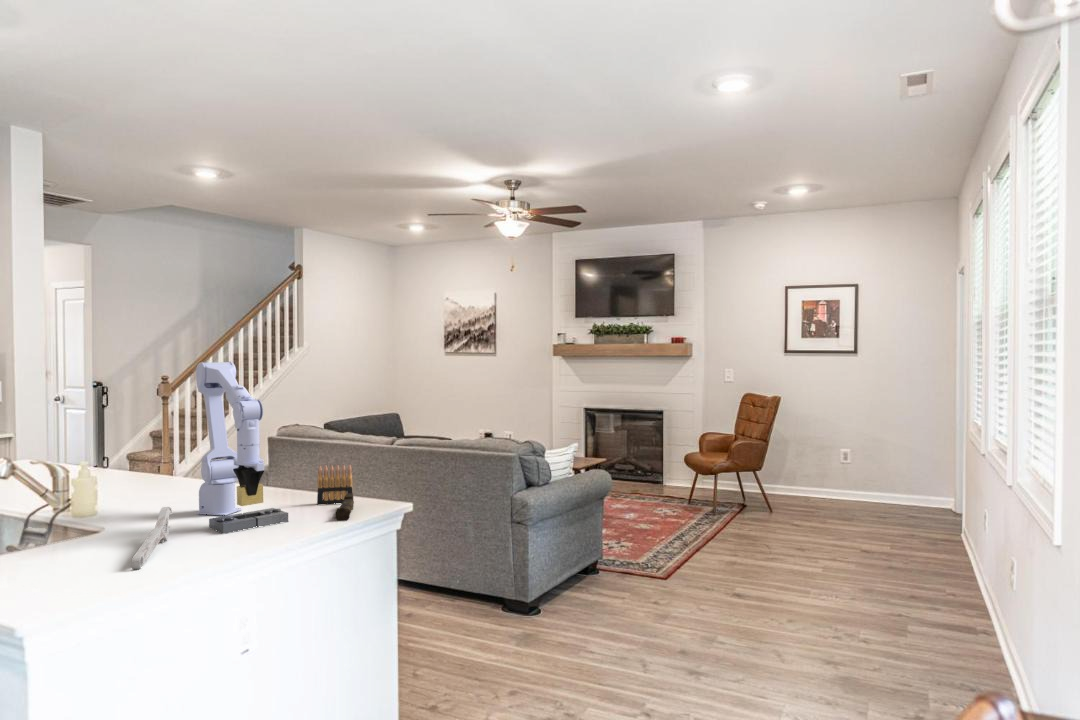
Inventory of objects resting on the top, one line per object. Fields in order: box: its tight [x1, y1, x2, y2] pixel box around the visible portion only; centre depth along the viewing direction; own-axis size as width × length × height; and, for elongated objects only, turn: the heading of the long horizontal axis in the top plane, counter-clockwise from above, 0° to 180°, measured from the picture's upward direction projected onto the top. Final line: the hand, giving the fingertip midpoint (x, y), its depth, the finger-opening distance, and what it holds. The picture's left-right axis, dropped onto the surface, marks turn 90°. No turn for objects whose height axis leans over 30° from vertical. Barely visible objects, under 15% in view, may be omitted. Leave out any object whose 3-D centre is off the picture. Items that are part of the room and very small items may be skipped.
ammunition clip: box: [316, 463, 354, 505], centre depth 232 cm, size 11×2×12 cm, turn 102°
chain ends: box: [208, 507, 289, 534], centre depth 205 cm, size 18×9×3 cm, turn 136°
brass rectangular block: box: [236, 482, 264, 507], centre depth 205 cm, size 6×3×5 cm, turn 136°
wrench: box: [131, 506, 173, 570], centre depth 179 cm, size 8×2×30 cm
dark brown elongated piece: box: [334, 493, 355, 522], centre depth 219 cm, size 19×4×5 cm, turn 5°
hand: (249, 494), depth 205 cm, fingers closed on brass rectangular block, 3 cm apart
